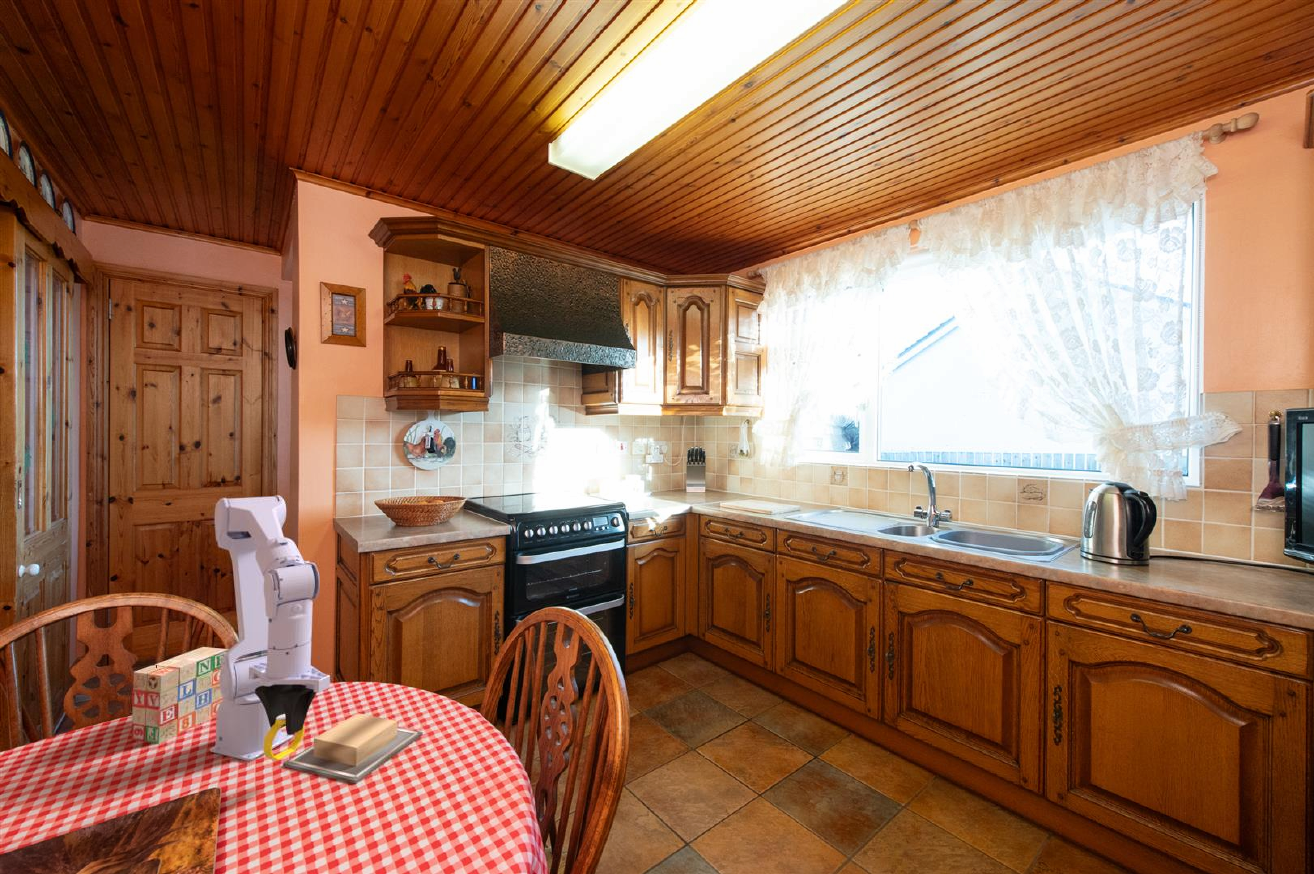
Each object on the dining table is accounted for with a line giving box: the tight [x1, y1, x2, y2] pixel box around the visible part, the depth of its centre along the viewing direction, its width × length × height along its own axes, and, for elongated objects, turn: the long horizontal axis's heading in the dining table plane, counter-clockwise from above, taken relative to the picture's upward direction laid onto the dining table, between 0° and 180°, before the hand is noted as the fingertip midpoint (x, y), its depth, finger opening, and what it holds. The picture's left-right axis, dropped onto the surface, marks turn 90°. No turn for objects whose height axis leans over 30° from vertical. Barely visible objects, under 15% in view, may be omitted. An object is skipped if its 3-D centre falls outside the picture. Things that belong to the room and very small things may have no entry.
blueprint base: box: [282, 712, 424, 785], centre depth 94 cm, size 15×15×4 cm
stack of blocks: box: [131, 646, 267, 745], centre depth 105 cm, size 21×6×12 cm, turn 168°
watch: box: [263, 714, 305, 762], centre depth 84 cm, size 6×3×6 cm, turn 166°
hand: (287, 729), depth 84 cm, fingers closed on watch, 3 cm apart
